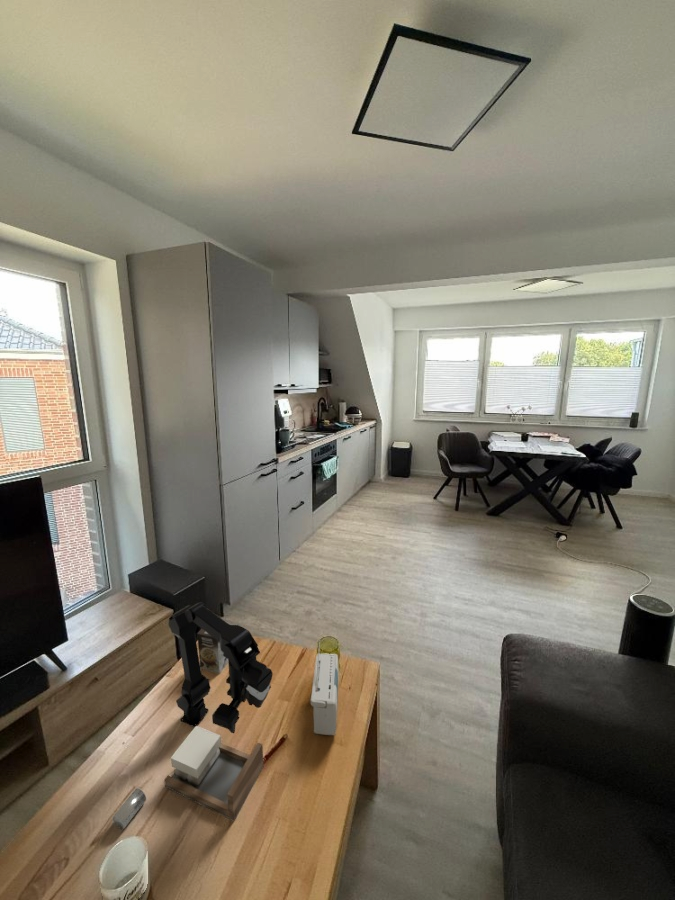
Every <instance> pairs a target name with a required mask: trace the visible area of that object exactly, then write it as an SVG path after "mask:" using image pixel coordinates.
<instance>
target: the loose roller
mask: <svg viewBox="0 0 675 900" xmlns="http://www.w3.org/2000/svg"><path fill="white" fill-rule="evenodd" d="M146 801H147V796H146V794H145V792H144V791H143V790H142V789H140V788H137V787H136V788H135V789H134V790H133V792H132V793H131V794H130V796H128V798H127V799H126V800H125V801H124V803H123V804H122V805H121V806H120V807H119V809H118V810H117V811H116V812H115V813H114V814H113V816H112V822H113V824H114V825H115V827H116V828H117V829H119V830H120V831H121V830H123V831H124V829H125V828H126V827H127V825H128V824H129V823H130V822H131V820H132V819H133V818H134V817H135V815H136V814H137V813H138V811H139V810H140V809H141V808H142V806H143V805H144V803H145V802H146Z"/></svg>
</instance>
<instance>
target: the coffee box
mask: <svg viewBox="0 0 675 900" xmlns="http://www.w3.org/2000/svg"><path fill="white" fill-rule="evenodd" d="M196 635H197V637H196V638H197V649H198V656H199V662H200V669H201V671H202V670H203V671H208V672H211V673H215V674H221V673H222V671H223V670H224V669H225V668H226V667H227V665H228V659H227V658H226V657H224V656H223V654H224V653H223V652H222V651H221V648H220V643H219V642H218V641H217V640H216V639H215V638H213V637H212V636H211V635H210V634H208V633H207V632H206V631H204V630H203V629H202V628H200V630H199V631H198V632H197V633H196Z"/></svg>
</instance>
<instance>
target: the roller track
mask: <svg viewBox="0 0 675 900" xmlns="http://www.w3.org/2000/svg"><path fill="white" fill-rule="evenodd" d="M263 751H264V749H263V744H262V743H261V742H258V741H257V742H256V744H255V746H254V748H253V749H252V751H251V753H249V754H248V753H246V752H245V751H242V750H239V749H237V748H235V747H232V746H229V745H227V744H224V743H222V742H221V745H220V747H219V748H218V750H217V751H216V752H215V754H214V755H213V757H212V758H211V760H210V761H209V763H208V764H207V766H206V767H205V769H204V770H203V771H202V773H201V774H200V776H199V777H198V779H197V778H195V777H193V776H191V775H189V774H187V773H185V772H182V771H180V770H178V769H176V768H174V773H173V774H172V775H171V776H170V775H167V776H166V777H165V778H164V784H165V785H164V787H165V788H167V789H168V790H170V791H173V792H175V793H177V794H179V795H181V796H183V797H184V798H187V799H189V800H191V801H193V802H195V803H197V804H199V805H201V806H203V807H205V808H207V809H210V810H211V811H212V812H213V811H214V812H215V813H217V814H219V815H221V816H223V817H225V818H227V819H229V820H232V821H233V822H235V821H236V819H237V817H238V815H239V813H240V812H241V810H242V808H243V806H244V804H245V802H246V800H247V799H248V797H249V795H250V793H251V791H252V790H253V787H254V785H255V784H256V782H257V780H258V778H259V775H261V772H262V770H263V768H264V752H263Z"/></svg>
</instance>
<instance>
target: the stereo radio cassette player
mask: <svg viewBox="0 0 675 900" xmlns="http://www.w3.org/2000/svg"><path fill="white" fill-rule="evenodd" d="M320 643H321V639H318V653H317V654H316V655H315V656H316V657H315V664H314V672H313V679H312V689H311V696H310V705H311V706H312V709H313V733H314V734H317V735H325V736H335V735H336V733H337V724H338V723H337V722H338V721H337V720H338V702H339V701H338V698H339V676H340V675H339V669H340V667H339V666H340V665H339V656H338V654H336V653H330V654H329V653H328V652H327V653H326V652H325V653H320V650H321V649H320V647H321V644H320Z"/></svg>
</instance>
